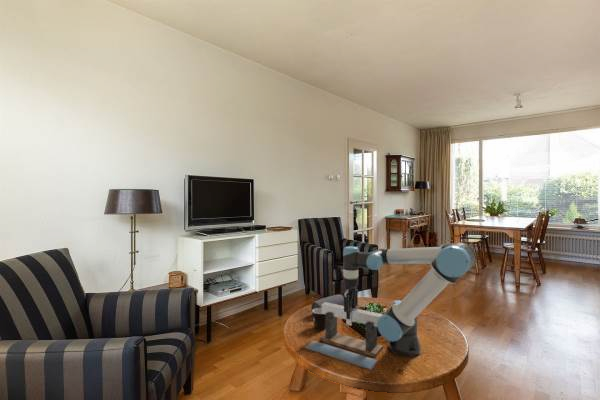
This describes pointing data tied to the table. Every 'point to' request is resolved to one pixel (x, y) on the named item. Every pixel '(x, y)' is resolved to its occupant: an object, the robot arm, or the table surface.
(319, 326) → the coffee mug
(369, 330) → the wooden stand
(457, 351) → the table surface
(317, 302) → the bluetooth speaker
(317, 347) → the mat
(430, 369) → the table surface
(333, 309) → the rail
